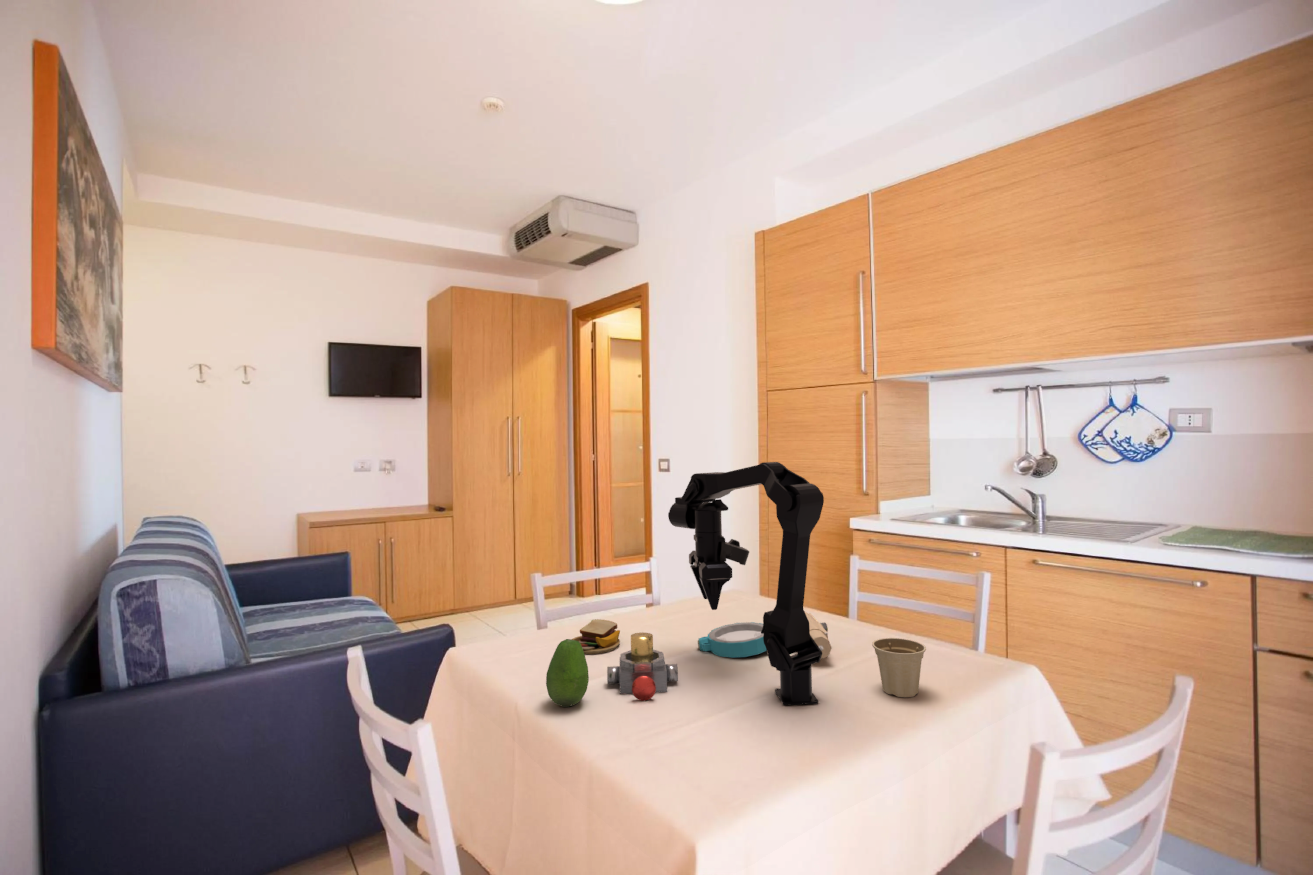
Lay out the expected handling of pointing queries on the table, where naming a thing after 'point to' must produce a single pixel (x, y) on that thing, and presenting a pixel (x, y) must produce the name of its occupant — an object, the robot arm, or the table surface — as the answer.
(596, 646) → the toy sandwich meal
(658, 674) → the valve
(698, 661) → the table surface
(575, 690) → the avocado
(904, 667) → the flower pot
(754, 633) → the butterfly valve
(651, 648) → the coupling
